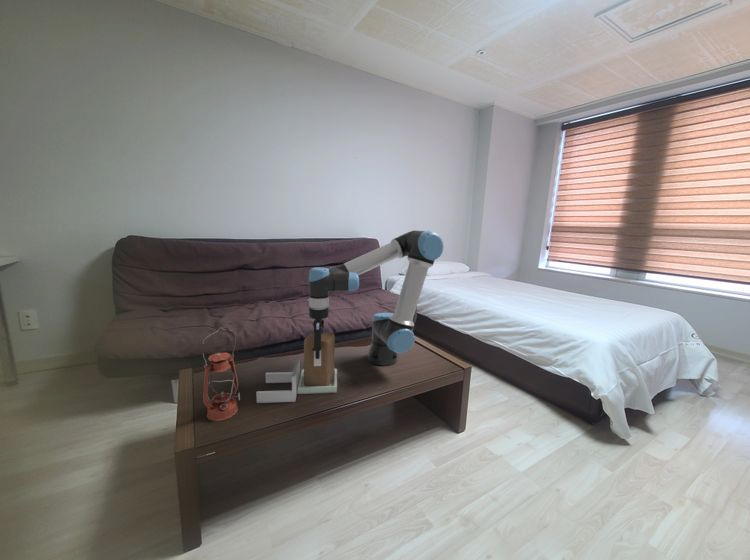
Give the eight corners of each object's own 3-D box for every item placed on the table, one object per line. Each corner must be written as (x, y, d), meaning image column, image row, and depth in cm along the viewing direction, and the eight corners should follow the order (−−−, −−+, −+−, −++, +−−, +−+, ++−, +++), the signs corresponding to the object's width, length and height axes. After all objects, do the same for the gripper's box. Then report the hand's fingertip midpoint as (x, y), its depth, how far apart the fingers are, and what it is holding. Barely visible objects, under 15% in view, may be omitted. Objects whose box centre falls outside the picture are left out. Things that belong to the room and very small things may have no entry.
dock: (300, 380, 126) (299, 356, 124) (295, 401, 111) (294, 374, 109) (266, 381, 124) (265, 357, 122) (256, 402, 109) (255, 375, 107)
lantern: (214, 403, 108) (209, 323, 103) (244, 403, 109) (240, 323, 104) (201, 421, 99) (195, 333, 93) (234, 420, 99) (229, 333, 94)
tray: (336, 374, 133) (337, 368, 132) (336, 392, 118) (336, 387, 117) (302, 374, 131) (301, 369, 130) (297, 394, 116) (297, 388, 116)
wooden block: (327, 389, 119) (328, 341, 115) (302, 386, 120) (303, 339, 116) (334, 377, 128) (335, 332, 125) (311, 374, 130) (312, 330, 126)
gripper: (311, 299, 130) (311, 345, 134) (305, 316, 106) (306, 373, 110) (329, 299, 131) (328, 345, 135) (327, 316, 107) (326, 372, 111)
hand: (318, 357), depth 122 cm, fingers open, 13 cm apart
